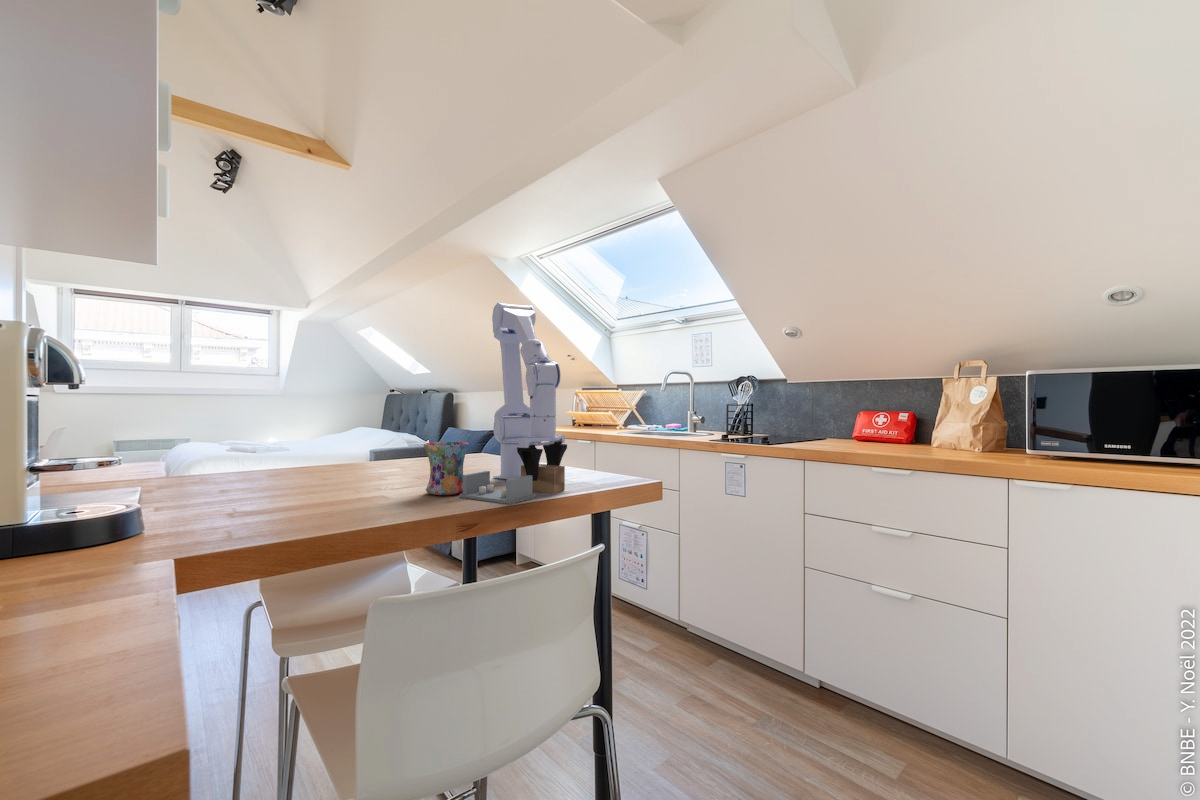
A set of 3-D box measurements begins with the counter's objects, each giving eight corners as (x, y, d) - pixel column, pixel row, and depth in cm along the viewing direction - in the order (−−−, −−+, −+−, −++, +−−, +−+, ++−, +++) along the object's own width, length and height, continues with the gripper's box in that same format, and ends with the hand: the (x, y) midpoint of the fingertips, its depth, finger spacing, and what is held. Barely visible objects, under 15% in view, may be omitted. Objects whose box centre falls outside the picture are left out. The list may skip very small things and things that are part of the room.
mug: (463, 497, 106) (463, 445, 105) (417, 497, 105) (417, 445, 105) (475, 487, 118) (475, 440, 117) (434, 487, 117) (434, 440, 117)
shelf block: (531, 487, 118) (531, 463, 118) (564, 490, 114) (564, 466, 114) (520, 490, 115) (520, 465, 115) (554, 494, 110) (554, 468, 110)
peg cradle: (486, 490, 113) (486, 470, 113) (535, 497, 106) (535, 475, 106) (459, 497, 106) (459, 475, 106) (510, 504, 99) (510, 480, 99)
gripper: (537, 418, 106) (537, 484, 106) (575, 415, 118) (575, 475, 118) (510, 417, 109) (510, 481, 109) (550, 415, 122) (550, 472, 122)
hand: (542, 478), depth 114 cm, fingers open, 7 cm apart
